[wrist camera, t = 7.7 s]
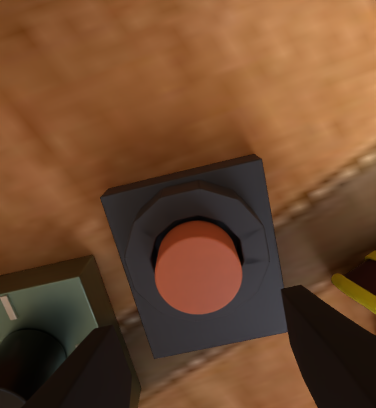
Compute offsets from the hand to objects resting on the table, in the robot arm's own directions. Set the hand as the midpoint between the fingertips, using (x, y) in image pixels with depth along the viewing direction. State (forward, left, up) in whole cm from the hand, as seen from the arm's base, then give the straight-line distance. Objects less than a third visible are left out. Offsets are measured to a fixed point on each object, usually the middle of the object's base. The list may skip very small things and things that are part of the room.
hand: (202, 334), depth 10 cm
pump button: (0, 0, -5) cm, 5 cm away
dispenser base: (-2, 0, -8) cm, 9 cm away
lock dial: (-4, +10, -6) cm, 12 cm away
